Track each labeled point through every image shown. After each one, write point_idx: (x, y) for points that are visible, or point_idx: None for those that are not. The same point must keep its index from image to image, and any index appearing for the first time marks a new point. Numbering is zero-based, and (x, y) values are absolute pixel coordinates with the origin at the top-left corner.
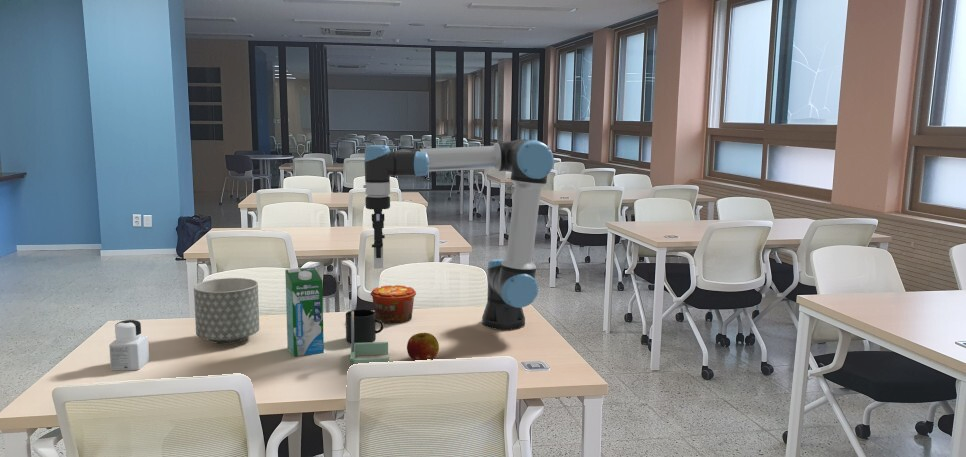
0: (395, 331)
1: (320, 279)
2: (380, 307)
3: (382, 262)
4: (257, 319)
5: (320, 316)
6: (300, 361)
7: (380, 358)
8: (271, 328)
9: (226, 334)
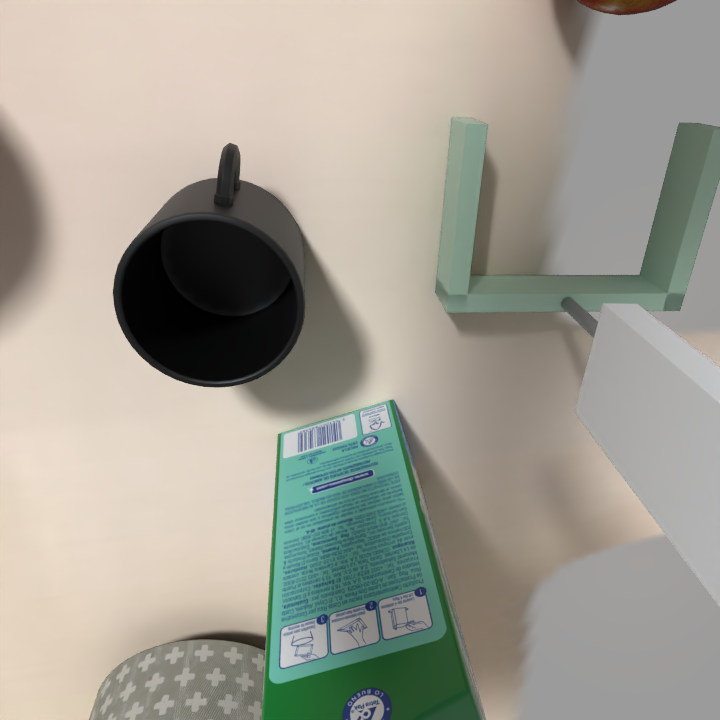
0: (59, 45)
1: (461, 705)
2: None
3: (681, 350)
4: (208, 684)
5: (424, 514)
6: (476, 464)
7: (711, 176)
8: (60, 597)
9: None
